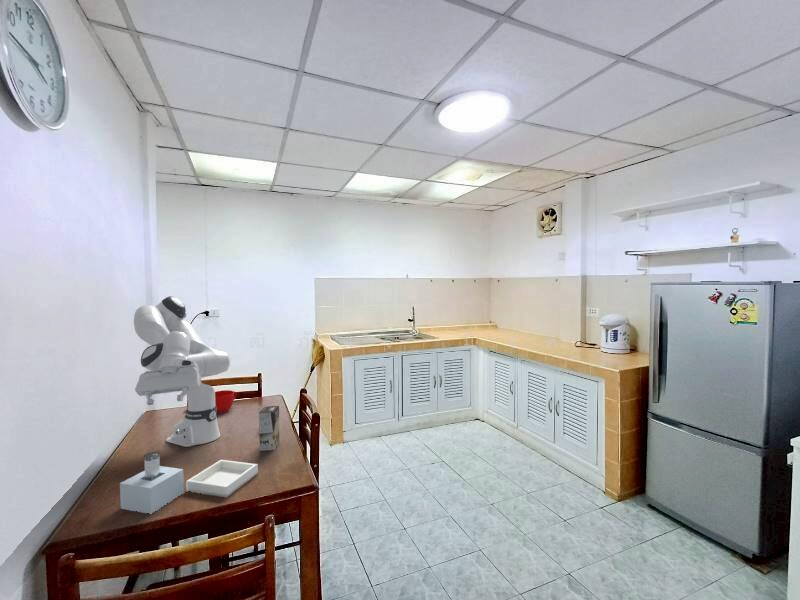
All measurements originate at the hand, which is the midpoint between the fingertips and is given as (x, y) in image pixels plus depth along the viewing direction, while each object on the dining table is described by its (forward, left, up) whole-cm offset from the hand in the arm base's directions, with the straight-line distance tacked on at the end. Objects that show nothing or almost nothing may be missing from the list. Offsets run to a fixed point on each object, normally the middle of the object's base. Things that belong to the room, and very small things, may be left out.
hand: (164, 402), depth 130 cm
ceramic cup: (-36, +71, -29) cm, 84 cm away
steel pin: (+6, -10, -23) cm, 26 cm away
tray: (+20, +5, -28) cm, 35 cm away
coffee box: (+18, +35, -29) cm, 48 cm away
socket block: (+6, -10, -28) cm, 31 cm away
